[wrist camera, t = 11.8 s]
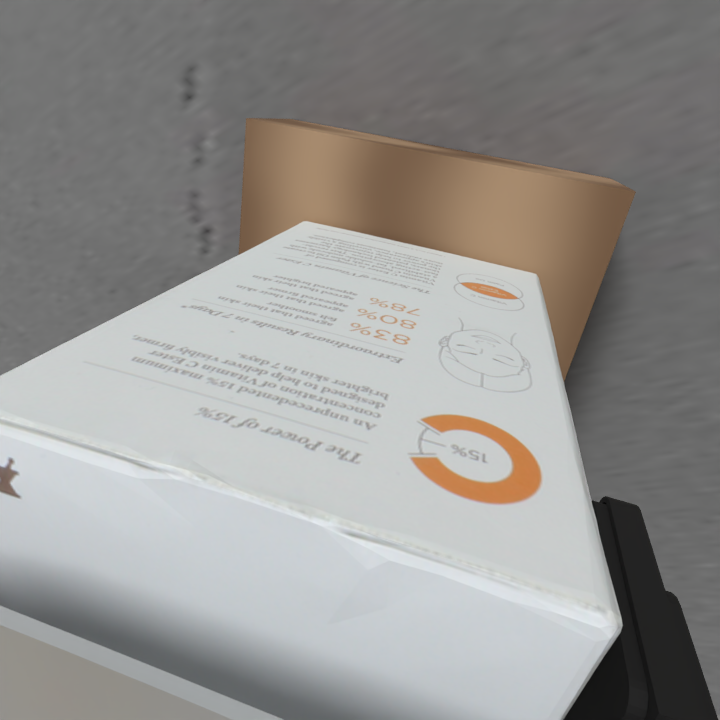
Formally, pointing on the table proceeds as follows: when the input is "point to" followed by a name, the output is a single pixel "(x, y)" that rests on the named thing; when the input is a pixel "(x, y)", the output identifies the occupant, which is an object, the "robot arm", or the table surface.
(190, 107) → the table surface
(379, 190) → the walnut base
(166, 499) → the small box
